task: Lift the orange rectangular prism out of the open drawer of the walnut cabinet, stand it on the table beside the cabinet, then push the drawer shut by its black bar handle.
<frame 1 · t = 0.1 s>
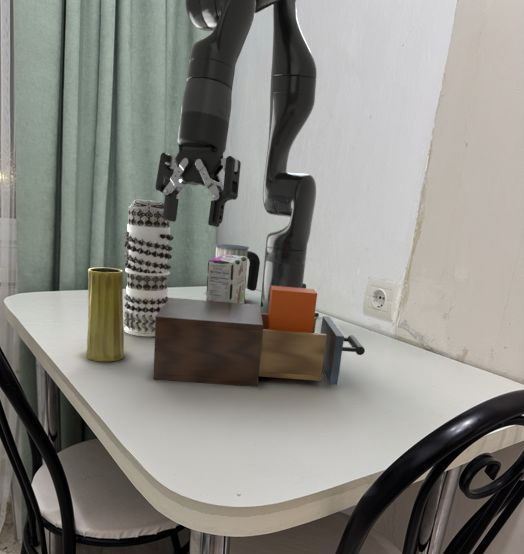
hand: (191, 223, 81), 22 cm above the table, tool pointing down, fingers open, 8 cm apart
drawer: (302, 346, 82), point 5 cm above the table, slide at 11.0 cm, touching orange rectangular prism
vase: (105, 357, 83), on the table
orange rectangular prism: (285, 361, 83), point 2 cm above the table, touching drawer
white patterned cylinder: (146, 331, 101), on the table
candy bar box: (223, 344, 97), on the table
cabinet: (208, 367, 83), on the table
milk frother: (223, 298, 142), on the table
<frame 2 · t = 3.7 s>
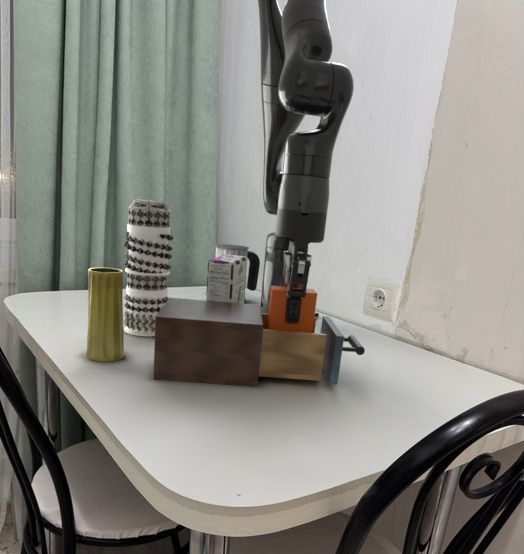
hand: (290, 318, 81), 9 cm above the table, tool pointing down, fingers closed on orange rectangular prism, 4 cm apart
orange rectangular prism: (285, 361, 83), point 2 cm above the table, touching drawer, gripper
everything else where it was.
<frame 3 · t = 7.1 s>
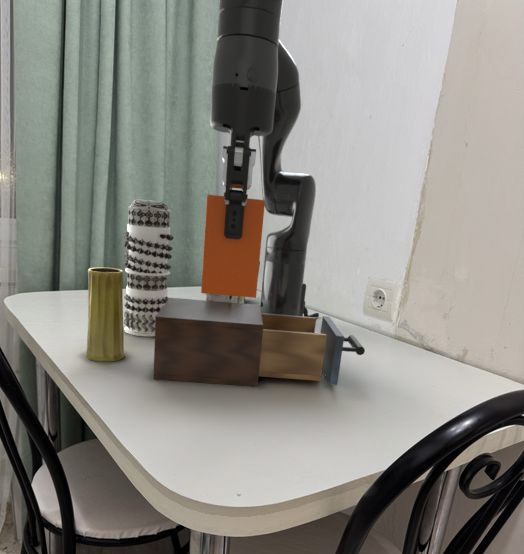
hand: (233, 236, 64), 22 cm above the table, tool pointing down, fingers closed on orange rectangular prism, 4 cm apart
drawer: (302, 346, 82), point 5 cm above the table, slide at 11.0 cm
orange rectangular prism: (228, 292, 66), point 15 cm above the table, touching gripper
everything else where it was.
when the fingers open (7 cm above the table, at t = 10.6 s): orange rectangular prism stays where it is, on the table.
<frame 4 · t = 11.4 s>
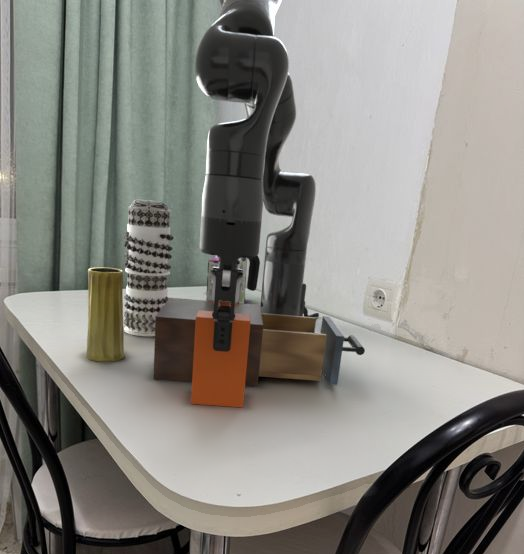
hand: (222, 341, 67), 8 cm above the table, tool pointing down, fingers open, 8 cm apart
orange rectangular prism: (217, 400, 70), on the table
everything else where it was.
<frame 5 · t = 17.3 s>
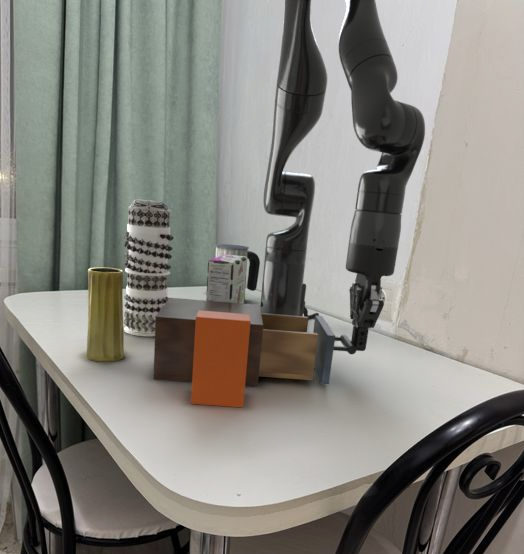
hand: (357, 349, 83), 5 cm above the table, tool pointing down, fingers closed
drawer: (294, 345, 82), point 5 cm above the table, slide at 9.7 cm, touching gripper
everything else where it was.
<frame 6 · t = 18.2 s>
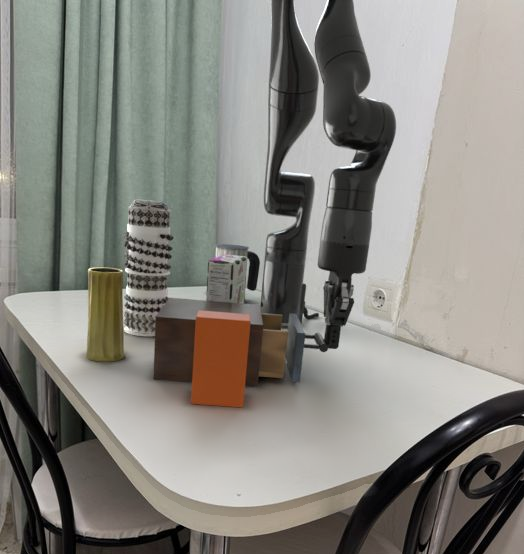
hand: (330, 347, 83), 5 cm above the table, tool pointing down, fingers closed
drawer: (266, 343, 82), point 5 cm above the table, slide at 5.2 cm, touching gripper
everything else where it was.
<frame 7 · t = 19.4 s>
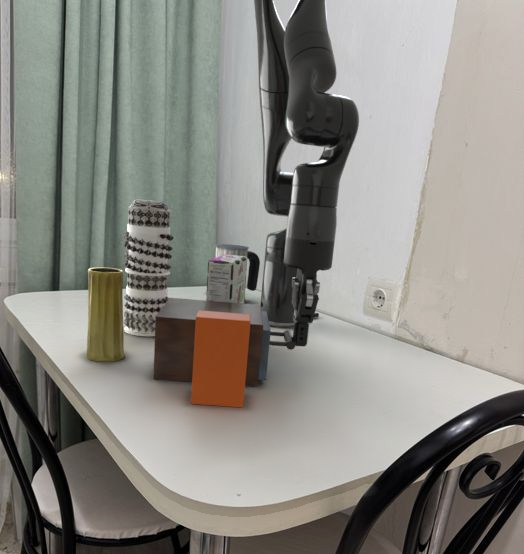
hand: (299, 344, 82), 5 cm above the table, tool pointing down, fingers closed
drawer: (234, 341, 82), point 5 cm above the table, slide at 0.0 cm, touching cabinet, gripper
everything else where it was.
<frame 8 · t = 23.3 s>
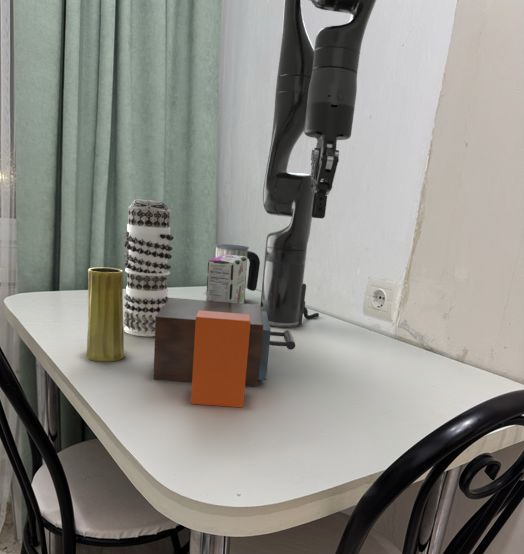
hand: (317, 217, 84), 25 cm above the table, tool pointing down, fingers closed
drawer: (234, 341, 82), point 5 cm above the table, slide at 0.0 cm
everything else where it was.
at the end: orange rectangular prism inside the target area (0.1 cm from its centre), on the table; orange rectangular prism tilted 0°; drawer slide at 0.0 cm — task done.
